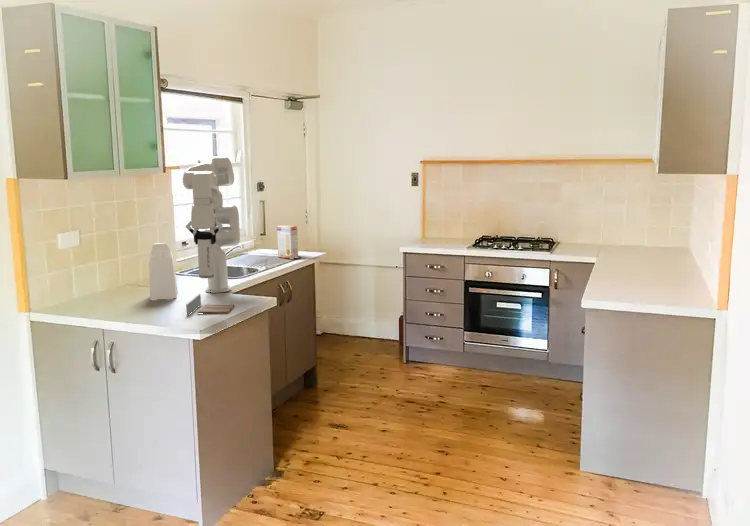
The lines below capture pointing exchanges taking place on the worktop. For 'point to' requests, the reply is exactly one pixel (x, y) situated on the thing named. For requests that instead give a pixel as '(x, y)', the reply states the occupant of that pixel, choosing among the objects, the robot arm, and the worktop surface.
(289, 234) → the cracker box
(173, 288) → the milk
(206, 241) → the travel mug
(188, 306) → the acrylic wall
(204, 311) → the walnut board
